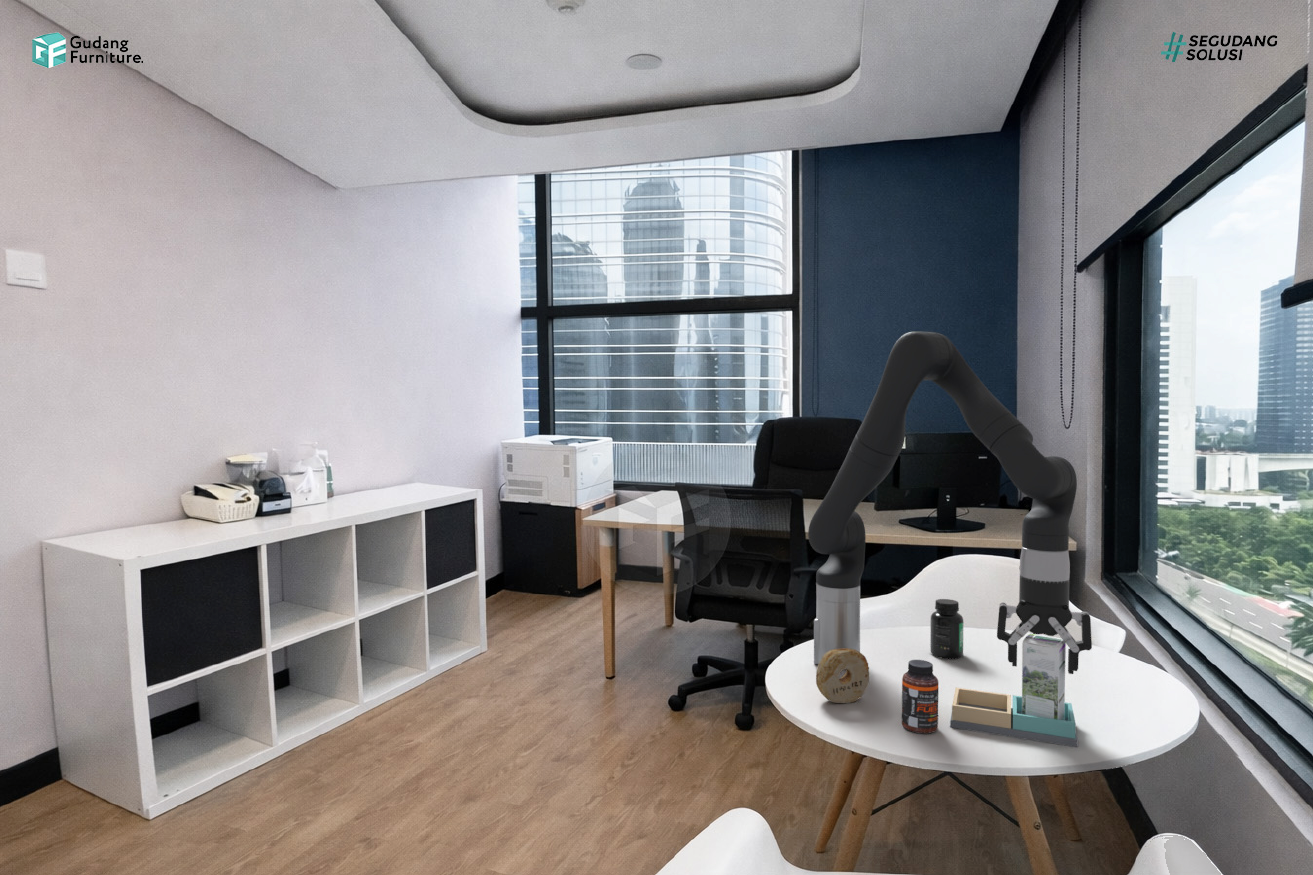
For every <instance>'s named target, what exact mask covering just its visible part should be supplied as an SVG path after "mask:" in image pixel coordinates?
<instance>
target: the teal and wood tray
mask: <svg viewBox="0 0 1313 875" xmlns="http://www.w3.org/2000/svg"><path fill="white" fill-rule="evenodd" d="M949 720H950V721H949V722H950V726H949V727H950V728H954V729H959V730H966V731H973V732H980V733H984V734H985V733H986V734H992V735H999V736H1005V737H1010V738H1016V739H1022V740H1023V739H1024V740H1029V741H1037V742H1042V743H1049V744H1056V745H1061V746H1067V747H1074V748H1075V747H1076V748H1078V736H1077V730H1076V725H1077V724H1076V720H1075V714H1074V709H1073V705H1072V702H1066V701H1065V720H1058V719H1051V718H1044V717H1037V716H1030V715H1024V714H1022V695H1021V696H1020V695H1014V694H1013V695H1012V694H1007V693H1005V694H1004V693H999V692H993V691H992V692H991V691H986V690H985V691H984V690H977V689H971V688H970V689H969V688H962V687H955V689H954V693H953V700H952V704H951V716H950V719H949Z"/></svg>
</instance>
